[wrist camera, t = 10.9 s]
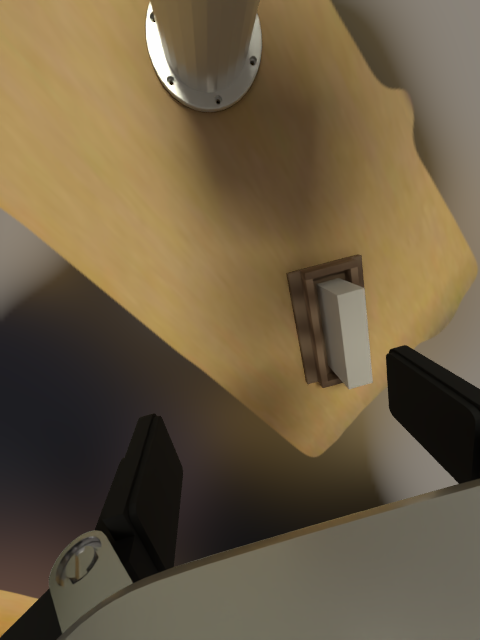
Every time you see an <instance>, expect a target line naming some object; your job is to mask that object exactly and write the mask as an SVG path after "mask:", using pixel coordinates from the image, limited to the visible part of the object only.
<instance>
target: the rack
mask: <svg viewBox="0 0 480 640" xmlns="http://www.w3.org/2000/svg"><path fill="white" fill-rule="evenodd" d="M337 278H340V279H343V280H345V281H348V282H350V283H353V284H355V285H358V286H360V287H363V288H364V280H363V268H362V256H361V255H354V256H350V257H346V258H342V259H339V260H335V261H331V262H327V263H323V264H320V265H316V266H312V267H308V268H304V269H300V270H297V271H293V272H289V273H287V279H288V284H289V290H290V295H291V301H292V306H293V312H294V317H295V323H296V329H297V334H298V340H299V345H300V351H301V356H302V362H303V367H304V373H305V378H306V382H307V383H308V384H311V383H314V382H319V384H320V385H321V386H322V388H325V387H329V386H332V385H336V384H340V383H343V382H342V381H341V380H340V378H339V377H338V376H337V375H336V374H335V373H334V371H333V370H332V369H331V368H330V367H329V366H328V360H327V354H326V347H325V340H324V334H323V327H322V320H321V314H320V307H319V300H318V293H317V287H316V284H319V283H322V282H326V281H330V280H334V279H337Z"/></svg>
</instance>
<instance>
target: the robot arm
mask: <svg viewBox="0 0 480 640" xmlns="http://www.w3.org/2000/svg"><path fill="white" fill-rule="evenodd" d="M259 2H260V0H150V2H149V5H148V9H147V15H146V24H145V29H146V42H147V47H148V52H149V56H150V59H151V62H152V65H153V67H154V69H155V71H156V74H157V76H158V78H159V79H160V81H161V82H162V84H163V86H164V87H165V88H166V89H167V91H168V92H169V93H170V94H171V95H172V96H173V97H174V98H175V99H177V100H178V101H179V102H181V103H182V104H183V105H185V106H187V107H189V108H191V109H194V110H198V111H202V112H216V111H221V110H224V109H226V108H229V107H231V106H233V105H234V104H235V103H237V102H238V101H239V100H241V98H242V97H243V96H244V95H245V94H246V93H247V92H248V90H249V88H250V87H251V85H252V83H253V81H254V79H255V76H256V74H257V71H258V68H259V64H260V60H261V52H262V32H261V26H260V20H259V17H258V14H257V11H258V6H259ZM154 21H155V22H156V23H154ZM250 63H253V64H254V66H252V65H251V64H250ZM170 82H173V83H174V84H173V85H169V84H170ZM216 101H220V104H216ZM386 365H387V381H388V398H389V409H390V412H391V413H392V415H393V416H394V418H395V419H396V420H397V421H398V422H399V423H400V424H401V425H402V426H403V427H404V428H405V429H406V430H407V431H408V432H409V433H410V434H411V435H412V436H413V437H414V438H415V439H416V440H417V441H418V442H419V443H420V444H421V445H422V446H423V447H424V448H425V449H426V450H427V451H428V452H429V453H430V454H431V455H432V456H433V457H434V458H435V460H436V461H437V462H438V463H439V464H440V465H441V466H442V467H443V468H444V469H445V470H446V471H447V472H448V473H449V474H450V475H451V476H452V477H453V478H454V479H455V480H456V481H457V482H458V483H459V484H458V485H454V486H450V487H447V488H444V489H440V490H436V491H432V492H429V493H425V494H422V495H418V496H415V497H411V498H407V499H404V500H400V501H397V502H393V503H390V504H386V505H383V506H379V507H376V508H372V509H369V510H365V511H362V512H358V513H355V514H351V515H348V516H344V517H341V518H338V519H334V520H330V521H327V522H323V523H320V524H316V525H313V526H310V527H306V528H303V529H299V530H296V531H292V532H289V533H286V534H282V535H279V536H276V537H272V538H268V539H265V540H262V541H259V542H255V543H251V544H248V545H245V546H241V547H238V548H234V549H231V550H228V551H224V552H221V553H218V554H214V555H211V556H208V557H205V558H202V559H199V560H196V561H192V562H189V563H186V564H183V565H179V566H176V567H174V558H175V548H176V538H177V528H178V518H179V509H180V498H181V488H182V478H183V470H182V465H181V463H180V460H179V458H178V456H177V453H176V451H175V448H174V446H173V443H172V441H171V439H170V436H169V434H168V432H167V429H166V427H165V424H164V422H163V419H162V417H161V416H156V414H150V415H147V416H143V417H140V418H139V420H138V423H137V425H136V428H135V431H134V433H133V436H132V439H131V442H130V444H129V447H128V450H127V453H126V456H125V458H123V459H122V460H121V462H120V464H119V466H118V469H117V472H116V475H115V477H114V480H113V483H112V485H111V488H110V491H109V493H108V496H107V499H106V501H105V504H104V507H103V509H102V512H101V515H100V517H99V520H98V523H97V525H96V528H95V531H90V532H87V533H85V534H83V535H81V536H79V537H78V538H76V539H75V540H74V541H72V542H71V543H70V544H69V545H68V546H67V547H66V548H65V549H64V550H63V552H62V553H61V554H60V556H59V557H58V558H57V560H56V562H55V564H54V566H53V568H52V570H51V573H50V577H49V589H48V590H47V592H46V593H45V594H43V595H42V596H41V598H39V599H38V600H37V601H36V602H35V603H34V604H33V605H32V606H31V607H30V608H29V609H28V610H27V611H26V612H25V613H24V614H23V615H22V616H21V617H20V618H19V619H18V620H17V621H16V622H15V623H14V624H13V625H12V626H11V627H10V628H9V629H8V630H7V631H6V632H5V633H4V634H3V635H2V636H1V637H0V640H480V389H479V388H477V387H475V386H474V385H472V384H470V383H468V382H467V381H465V380H464V379H462V378H460V377H458V376H456V375H455V374H453V373H452V372H450V371H448V370H447V369H445V368H443V367H442V366H440V365H438V364H437V363H435V362H433V361H432V360H430V359H428V358H426V357H425V356H423V355H422V354H420V353H418V352H417V351H415V350H413V349H412V348H410V347H408V346H406V345H404V346H400V347H396V348H393V349H390V351H389V353H388V354H387V355H386Z"/></svg>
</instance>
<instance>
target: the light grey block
mask: <svg viewBox="0 0 480 640" xmlns="http://www.w3.org/2000/svg"><path fill="white" fill-rule="evenodd" d="M316 287H317V293H318V300H319V307H320V314H321V320H322V327H323V334H324V340H325V347H326V354H327V360H328V366H329V367H330V368H331V369H332V370H333V371H334V373H335V374H336V375H337V376H338V377H339V378H340V380H341V381H342V382H343V383H344V384H345V385H346V386H347V388H348V389H351V388H355V387H359V386H362V385H366V384H369V383H373V381H372V369H371V358H370V346H369V335H368V323H367V312H366V300H365V289H364V288H363V287H360V286H358V285H355V284H353V283H350V282H348V281H345V280H343V279H340V278H337V279H334V280H330V281H326V282H322V283H319V284H316Z"/></svg>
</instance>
